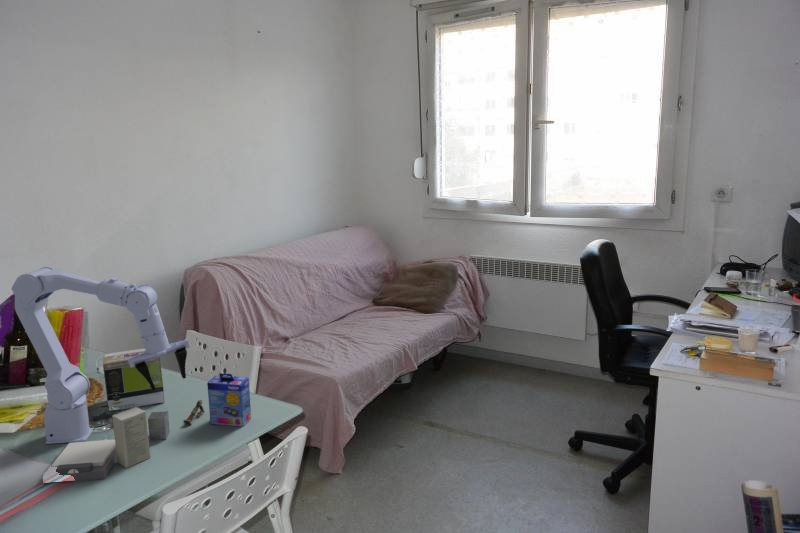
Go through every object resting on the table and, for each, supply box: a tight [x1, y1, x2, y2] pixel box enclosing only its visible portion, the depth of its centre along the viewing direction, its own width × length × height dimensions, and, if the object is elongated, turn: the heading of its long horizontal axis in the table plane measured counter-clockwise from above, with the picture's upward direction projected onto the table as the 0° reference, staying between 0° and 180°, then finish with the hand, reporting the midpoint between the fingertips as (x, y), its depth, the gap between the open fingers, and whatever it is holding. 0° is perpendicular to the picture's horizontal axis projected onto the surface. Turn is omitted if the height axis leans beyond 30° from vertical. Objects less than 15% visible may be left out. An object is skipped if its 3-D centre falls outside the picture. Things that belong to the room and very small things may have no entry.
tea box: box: [102, 347, 166, 411], centre depth 173 cm, size 15×10×15 cm, turn 115°
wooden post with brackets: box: [183, 399, 205, 426], centre depth 163 cm, size 2×8×4 cm, turn 166°
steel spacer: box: [147, 410, 171, 442], centre depth 152 cm, size 4×4×6 cm
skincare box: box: [111, 407, 151, 468], centre depth 140 cm, size 6×4×12 cm
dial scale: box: [50, 438, 117, 482], centre depth 139 cm, size 13×14×3 cm
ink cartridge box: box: [206, 373, 252, 427], centre depth 160 cm, size 10×6×14 cm, turn 81°
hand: (168, 383), depth 151 cm, fingers open, 7 cm apart
